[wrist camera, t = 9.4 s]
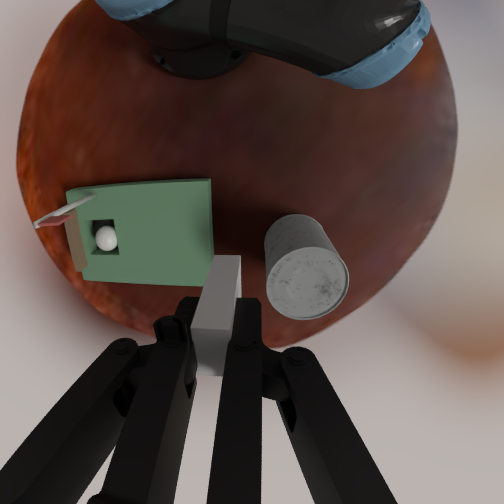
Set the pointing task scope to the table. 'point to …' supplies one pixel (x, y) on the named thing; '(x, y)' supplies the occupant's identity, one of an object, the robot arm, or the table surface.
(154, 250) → the green
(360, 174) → the table surface
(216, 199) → the table surface
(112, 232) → the ball
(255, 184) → the table surface
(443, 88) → the table surface
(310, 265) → the grey can
